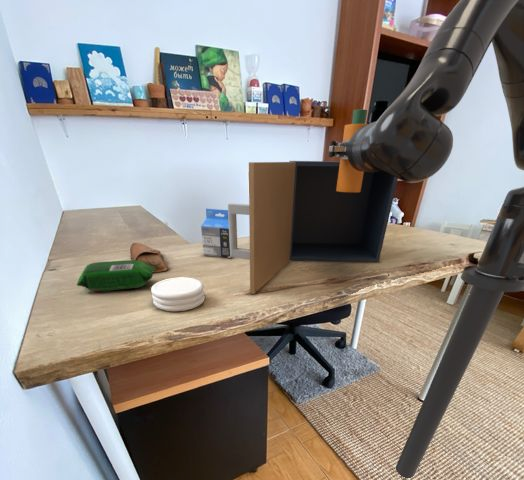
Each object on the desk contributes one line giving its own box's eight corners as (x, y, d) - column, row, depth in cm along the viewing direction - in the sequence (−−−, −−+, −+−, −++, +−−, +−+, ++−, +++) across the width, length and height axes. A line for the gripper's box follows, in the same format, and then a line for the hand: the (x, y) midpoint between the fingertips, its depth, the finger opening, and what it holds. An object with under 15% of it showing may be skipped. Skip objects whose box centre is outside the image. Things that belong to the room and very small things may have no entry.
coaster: (176, 317, 53) (173, 299, 51) (143, 303, 58) (139, 286, 56) (215, 300, 60) (213, 283, 58) (183, 288, 65) (180, 273, 63)
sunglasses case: (170, 268, 75) (151, 247, 70) (148, 285, 75) (128, 264, 70) (160, 251, 88) (144, 232, 84) (142, 265, 88) (125, 247, 84)
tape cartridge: (203, 255, 87) (198, 210, 80) (209, 252, 90) (205, 208, 83) (230, 258, 85) (228, 212, 78) (235, 255, 88) (234, 210, 81)
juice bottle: (365, 191, 69) (380, 110, 61) (349, 192, 66) (362, 107, 58) (347, 190, 73) (359, 113, 65) (331, 190, 70) (341, 110, 62)
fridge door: (227, 289, 64) (220, 161, 51) (268, 258, 85) (270, 161, 72) (254, 293, 63) (253, 162, 50) (289, 261, 83) (295, 161, 70)
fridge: (378, 262, 84) (401, 162, 70) (287, 260, 84) (293, 161, 71) (362, 246, 99) (378, 162, 85) (284, 245, 99) (289, 160, 86)
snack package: (157, 289, 64) (152, 266, 62) (78, 295, 61) (70, 270, 58) (158, 279, 70) (154, 257, 67) (87, 283, 67) (80, 260, 64)
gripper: (419, 122, 51) (386, 131, 65) (336, 121, 51) (322, 130, 65) (407, 172, 55) (379, 170, 69) (330, 171, 55) (318, 169, 69)
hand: (351, 151), depth 67 cm, fingers closed on juice bottle, 5 cm apart
